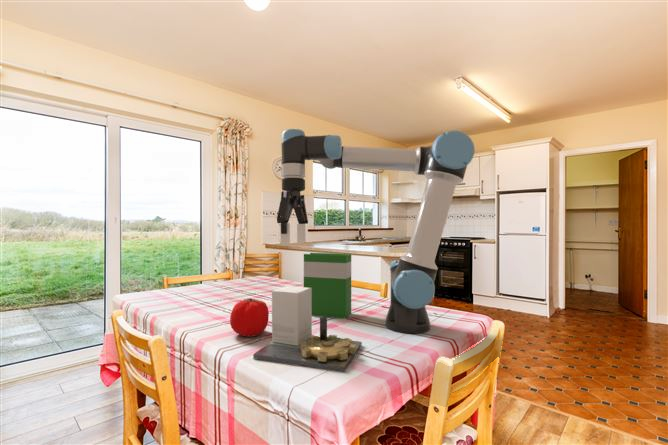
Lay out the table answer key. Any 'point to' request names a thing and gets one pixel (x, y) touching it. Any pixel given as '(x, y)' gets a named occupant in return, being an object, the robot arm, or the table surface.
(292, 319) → the supplement box
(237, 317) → the tomato
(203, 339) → the table surface
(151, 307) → the table surface
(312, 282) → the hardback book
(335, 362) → the plate
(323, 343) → the sprocket
